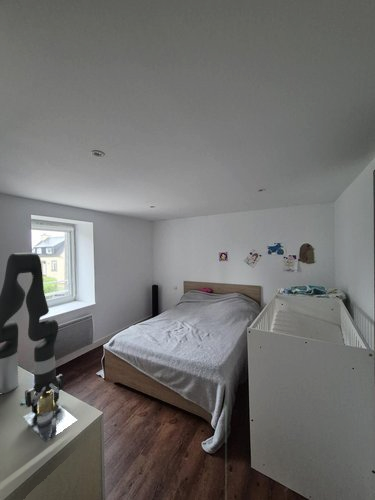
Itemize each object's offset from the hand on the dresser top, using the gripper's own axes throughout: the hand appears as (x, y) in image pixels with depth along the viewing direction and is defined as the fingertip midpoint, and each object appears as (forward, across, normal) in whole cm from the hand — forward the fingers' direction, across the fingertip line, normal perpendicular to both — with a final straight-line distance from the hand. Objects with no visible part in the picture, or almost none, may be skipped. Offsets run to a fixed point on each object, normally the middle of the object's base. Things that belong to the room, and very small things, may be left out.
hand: (46, 406), depth 86 cm
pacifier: (+3, +1, -14) cm, 14 cm away
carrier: (+2, +2, +7) cm, 7 cm away
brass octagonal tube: (+1, 0, 0) cm, 1 cm away
